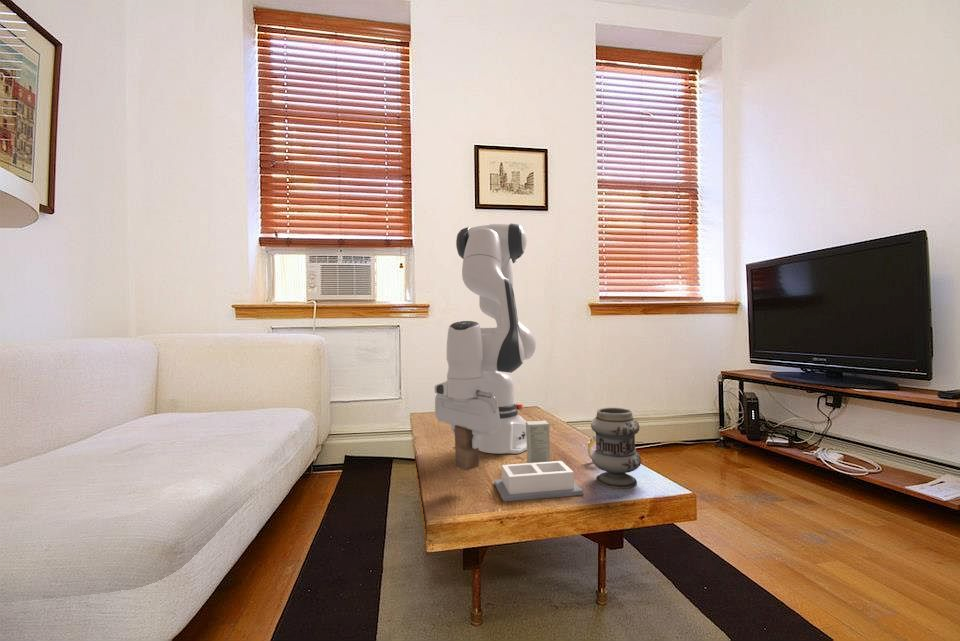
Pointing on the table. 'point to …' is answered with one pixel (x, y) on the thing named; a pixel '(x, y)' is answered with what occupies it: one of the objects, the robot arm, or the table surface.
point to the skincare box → (537, 441)
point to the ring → (590, 444)
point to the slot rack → (536, 481)
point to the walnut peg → (465, 449)
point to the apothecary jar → (615, 447)
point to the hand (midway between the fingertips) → (466, 445)
